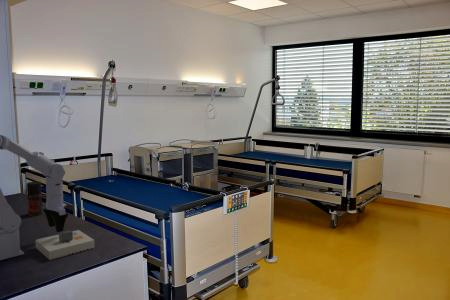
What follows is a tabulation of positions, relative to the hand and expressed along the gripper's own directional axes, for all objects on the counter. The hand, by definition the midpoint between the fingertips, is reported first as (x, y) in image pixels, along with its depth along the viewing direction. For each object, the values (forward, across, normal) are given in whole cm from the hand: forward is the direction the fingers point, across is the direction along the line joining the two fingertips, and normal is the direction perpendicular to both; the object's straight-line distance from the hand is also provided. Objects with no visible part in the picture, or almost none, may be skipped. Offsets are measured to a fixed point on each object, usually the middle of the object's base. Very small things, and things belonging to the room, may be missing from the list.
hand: (55, 228), depth 144 cm
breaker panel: (+5, -9, 0) cm, 10 cm away
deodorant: (+5, +40, -5) cm, 41 cm away
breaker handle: (+2, -9, 0) cm, 10 cm away
